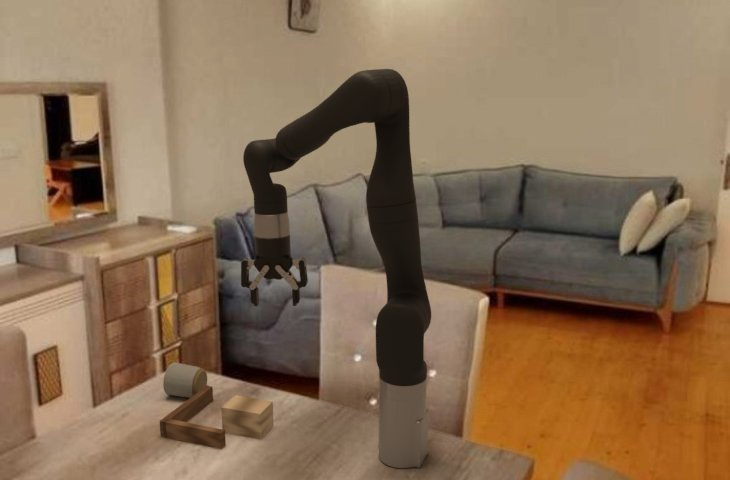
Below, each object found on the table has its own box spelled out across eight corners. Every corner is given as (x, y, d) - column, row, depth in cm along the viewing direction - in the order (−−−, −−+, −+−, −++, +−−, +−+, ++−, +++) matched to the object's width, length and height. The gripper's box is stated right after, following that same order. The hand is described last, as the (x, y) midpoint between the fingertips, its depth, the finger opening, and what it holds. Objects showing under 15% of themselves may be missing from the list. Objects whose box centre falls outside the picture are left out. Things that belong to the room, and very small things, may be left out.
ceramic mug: (195, 404, 160) (194, 373, 158) (163, 400, 162) (161, 369, 160) (215, 385, 170) (214, 355, 168) (185, 381, 172) (183, 352, 170)
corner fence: (263, 409, 157) (263, 395, 157) (221, 449, 141) (221, 433, 140) (207, 399, 162) (206, 385, 161) (160, 436, 146) (159, 421, 145)
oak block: (273, 426, 150) (272, 401, 149) (260, 440, 145) (260, 413, 143) (236, 420, 153) (235, 395, 152) (222, 433, 147) (221, 407, 146)
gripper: (307, 229, 152) (310, 299, 156) (243, 229, 153) (247, 299, 157) (302, 236, 145) (305, 310, 148) (235, 237, 146) (239, 310, 149)
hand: (275, 305), depth 152 cm, fingers open, 8 cm apart
